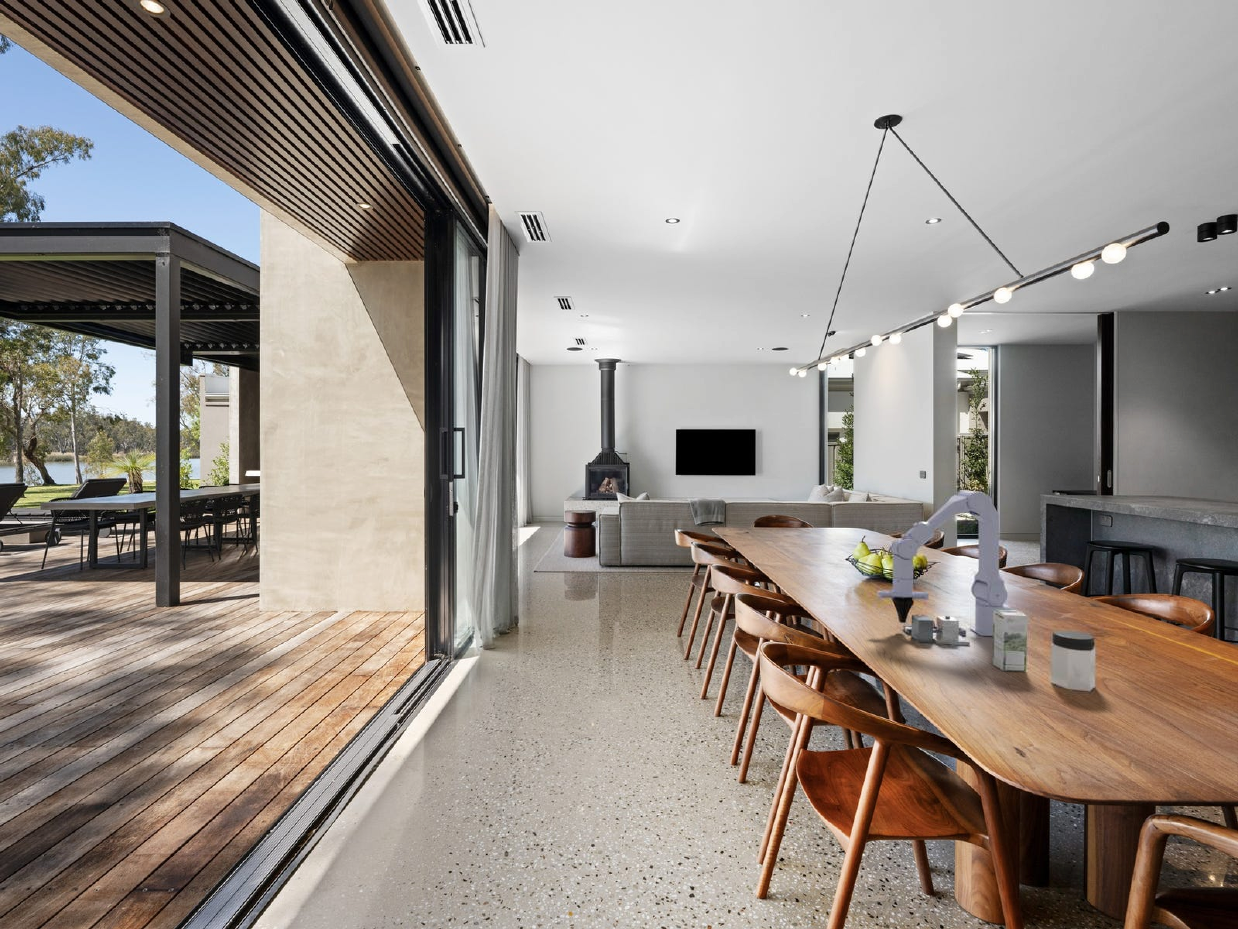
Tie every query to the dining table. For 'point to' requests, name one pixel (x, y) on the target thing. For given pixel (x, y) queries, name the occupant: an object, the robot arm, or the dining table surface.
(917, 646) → the dining table surface
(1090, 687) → the jar
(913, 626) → the press
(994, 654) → the syrup box
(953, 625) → the block
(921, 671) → the dining table surface
